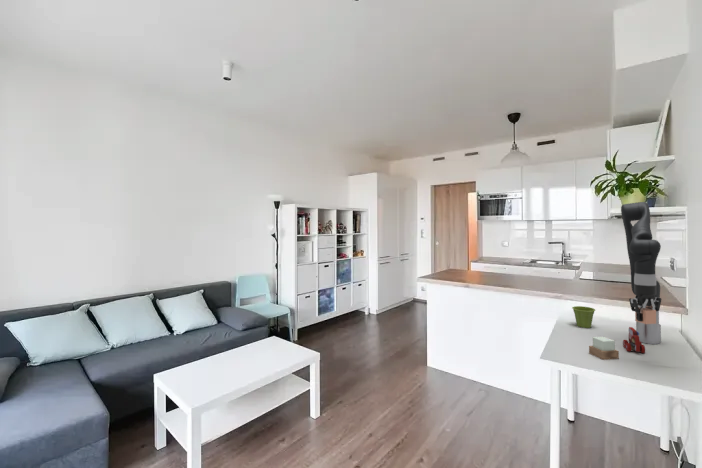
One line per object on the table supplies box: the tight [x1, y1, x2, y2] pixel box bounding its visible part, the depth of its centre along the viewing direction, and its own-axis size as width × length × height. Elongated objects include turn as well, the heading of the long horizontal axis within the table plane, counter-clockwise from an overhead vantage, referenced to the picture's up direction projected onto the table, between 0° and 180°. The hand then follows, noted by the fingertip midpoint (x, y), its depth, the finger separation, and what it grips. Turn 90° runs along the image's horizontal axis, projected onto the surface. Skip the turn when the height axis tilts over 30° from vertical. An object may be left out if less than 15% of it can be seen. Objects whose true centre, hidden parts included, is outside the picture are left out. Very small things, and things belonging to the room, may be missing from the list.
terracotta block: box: [634, 308, 656, 324], centre depth 150 cm, size 5×5×6 cm
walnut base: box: [588, 345, 620, 361], centre depth 159 cm, size 8×8×4 cm
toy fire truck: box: [622, 326, 646, 354], centre depth 165 cm, size 7×12×10 cm, turn 152°
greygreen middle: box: [592, 336, 616, 351], centre depth 159 cm, size 6×6×4 cm
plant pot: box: [571, 305, 596, 329], centre depth 204 cm, size 12×12×11 cm
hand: (645, 320), depth 150 cm, fingers closed on terracotta block, 5 cm apart
